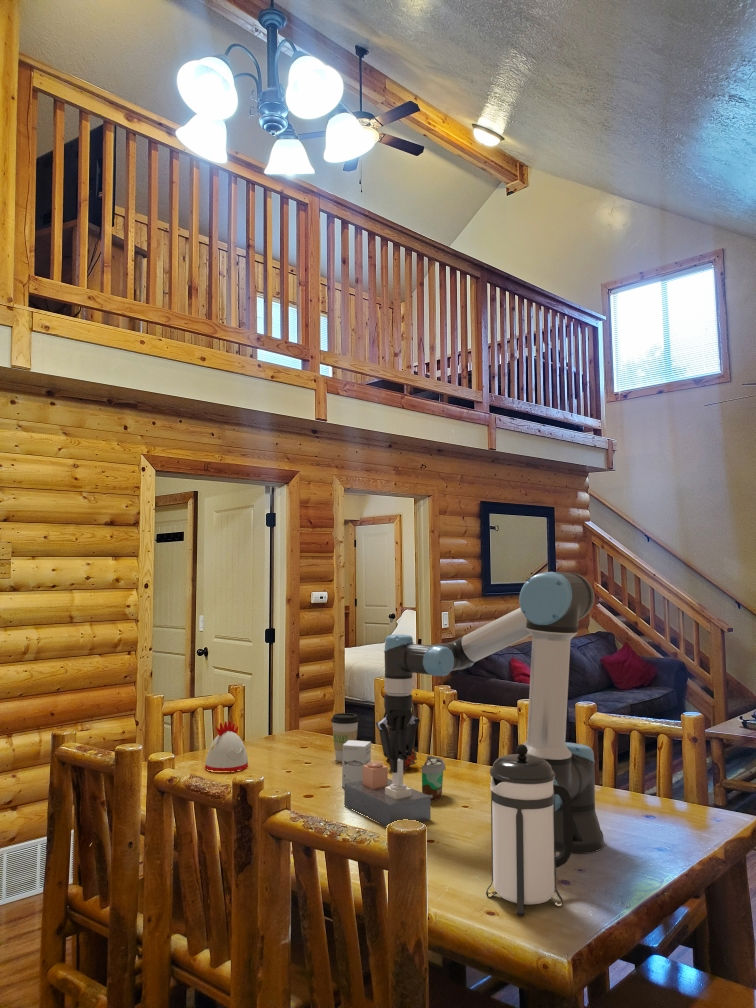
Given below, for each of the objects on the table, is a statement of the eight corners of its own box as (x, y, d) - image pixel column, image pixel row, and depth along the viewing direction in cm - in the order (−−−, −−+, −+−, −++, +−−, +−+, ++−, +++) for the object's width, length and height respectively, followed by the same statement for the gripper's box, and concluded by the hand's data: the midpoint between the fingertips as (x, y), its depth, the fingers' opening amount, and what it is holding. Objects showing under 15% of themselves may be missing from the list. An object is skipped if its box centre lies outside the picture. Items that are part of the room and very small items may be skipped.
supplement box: (341, 787, 217) (341, 744, 218) (348, 781, 224) (348, 739, 225) (365, 789, 215) (365, 746, 216) (371, 782, 222) (371, 740, 224)
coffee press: (563, 925, 132) (560, 757, 135) (478, 910, 138) (476, 749, 141) (574, 887, 148) (571, 737, 151) (497, 875, 154) (495, 731, 157)
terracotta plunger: (387, 789, 199) (387, 764, 199) (372, 792, 196) (372, 767, 196) (377, 784, 203) (377, 760, 203) (362, 787, 200) (362, 763, 201)
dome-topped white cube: (411, 812, 189) (411, 786, 190) (395, 815, 186) (396, 789, 187) (400, 807, 193) (400, 781, 194) (384, 810, 191) (385, 784, 191)
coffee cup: (327, 757, 253) (328, 713, 255) (354, 755, 256) (354, 712, 258) (334, 764, 244) (334, 718, 245) (362, 762, 247) (362, 717, 248)
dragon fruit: (419, 772, 240) (389, 782, 234) (406, 752, 246) (376, 762, 240) (425, 754, 236) (395, 764, 230) (412, 735, 242) (382, 744, 236)
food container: (443, 803, 202) (443, 767, 203) (421, 802, 203) (421, 765, 204) (447, 791, 214) (447, 756, 215) (427, 789, 215) (427, 755, 216)
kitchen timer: (197, 766, 240) (198, 720, 241) (233, 759, 249) (234, 715, 251) (218, 775, 230) (220, 727, 231) (255, 768, 239) (256, 721, 240)
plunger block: (430, 819, 189) (430, 796, 189) (389, 829, 182) (390, 804, 182) (382, 798, 207) (383, 776, 208) (344, 806, 200) (344, 783, 200)
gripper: (409, 689, 200) (409, 777, 197) (370, 693, 192) (369, 784, 190) (426, 693, 193) (425, 784, 191) (386, 697, 186) (385, 792, 184)
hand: (397, 784), depth 191 cm, fingers closed
